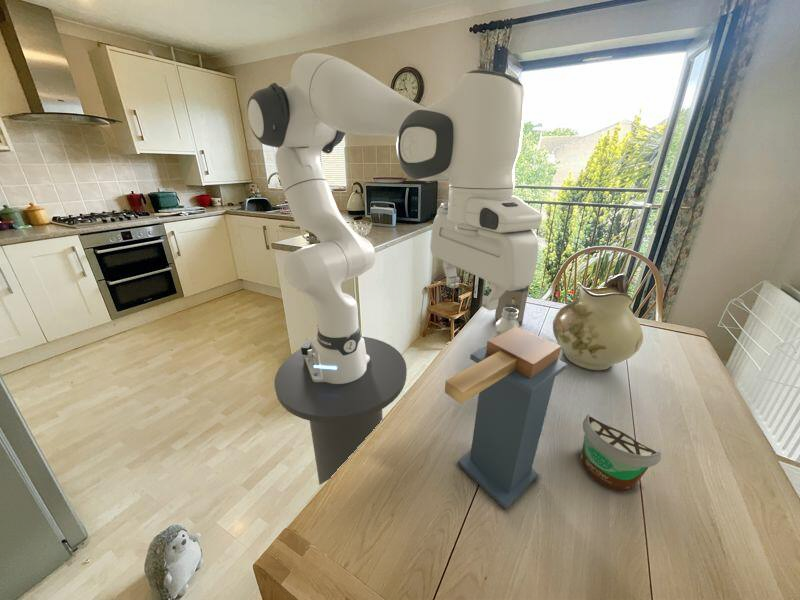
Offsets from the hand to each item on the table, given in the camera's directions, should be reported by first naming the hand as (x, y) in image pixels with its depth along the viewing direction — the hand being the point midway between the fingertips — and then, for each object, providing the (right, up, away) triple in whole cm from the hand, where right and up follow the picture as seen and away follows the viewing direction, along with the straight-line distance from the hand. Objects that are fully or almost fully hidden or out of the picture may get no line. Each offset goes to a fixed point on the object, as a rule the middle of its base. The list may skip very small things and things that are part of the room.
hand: (469, 296), depth 50 cm
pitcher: (+46, -18, +45) cm, 67 cm away
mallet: (+4, -11, -3) cm, 12 cm away
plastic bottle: (+17, -22, +38) cm, 47 cm away
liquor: (+29, -9, +66) cm, 72 cm away
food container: (+27, -34, +9) cm, 45 cm away
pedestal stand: (+8, -34, +10) cm, 36 cm away
